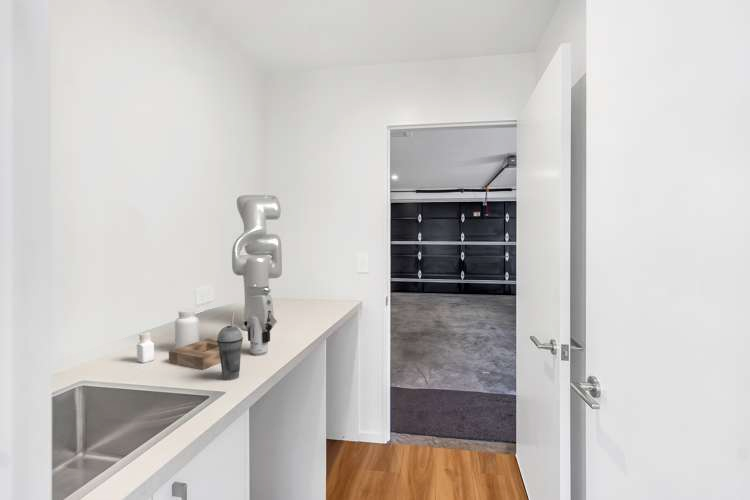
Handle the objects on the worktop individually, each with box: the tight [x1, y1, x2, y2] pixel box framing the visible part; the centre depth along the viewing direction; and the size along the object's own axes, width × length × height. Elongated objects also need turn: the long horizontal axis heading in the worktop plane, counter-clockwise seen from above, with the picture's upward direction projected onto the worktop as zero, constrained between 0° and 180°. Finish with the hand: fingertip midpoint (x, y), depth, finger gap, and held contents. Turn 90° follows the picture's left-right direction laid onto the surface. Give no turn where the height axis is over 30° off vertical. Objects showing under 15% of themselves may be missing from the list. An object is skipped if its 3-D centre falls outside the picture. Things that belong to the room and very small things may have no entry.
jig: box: [168, 338, 221, 371], centre depth 131 cm, size 16×16×4 cm
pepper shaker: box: [136, 331, 155, 364], centre depth 129 cm, size 4×4×10 cm
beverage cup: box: [216, 310, 244, 381], centre depth 114 cm, size 7×7×20 cm
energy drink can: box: [249, 315, 269, 356], centre depth 136 cm, size 6×6×15 cm
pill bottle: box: [174, 308, 200, 349], centre depth 141 cm, size 8×8×15 cm
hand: (259, 340), depth 137 cm, fingers closed on energy drink can, 6 cm apart
